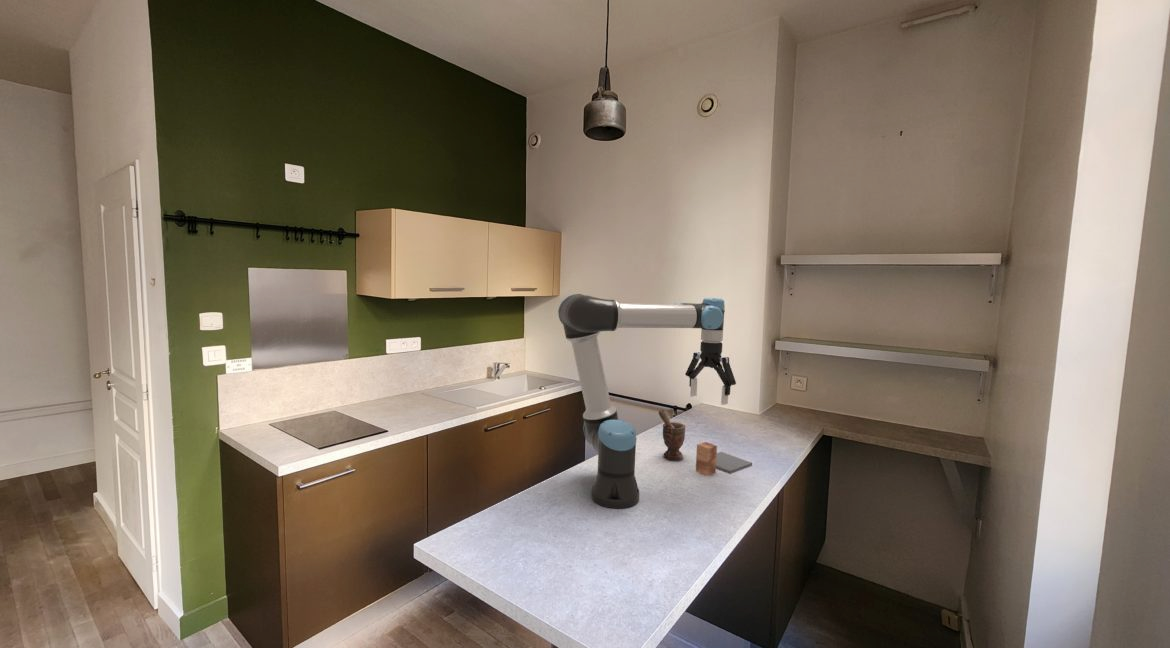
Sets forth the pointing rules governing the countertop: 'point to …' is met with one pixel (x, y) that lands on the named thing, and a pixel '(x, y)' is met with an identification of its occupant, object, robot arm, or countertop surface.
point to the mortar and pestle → (672, 437)
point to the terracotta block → (706, 458)
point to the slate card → (730, 463)
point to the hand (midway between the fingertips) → (708, 400)
